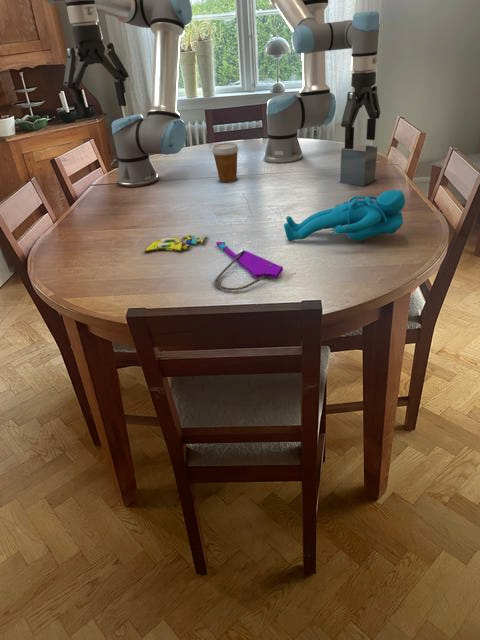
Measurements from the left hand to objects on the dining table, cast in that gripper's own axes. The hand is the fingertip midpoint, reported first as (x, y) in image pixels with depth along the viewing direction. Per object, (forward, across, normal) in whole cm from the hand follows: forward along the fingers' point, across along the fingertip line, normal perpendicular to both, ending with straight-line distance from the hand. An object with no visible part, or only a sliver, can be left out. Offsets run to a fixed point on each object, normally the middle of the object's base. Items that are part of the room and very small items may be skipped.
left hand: (103, 110), depth 139 cm
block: (+31, +61, -49) cm, 85 cm away
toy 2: (+31, +18, -70) cm, 78 cm away
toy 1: (+31, -9, -35) cm, 47 cm away
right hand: (+19, +61, -50) cm, 81 cm away
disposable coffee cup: (+31, +41, -7) cm, 52 cm away
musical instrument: (+31, -11, -58) cm, 67 cm away
